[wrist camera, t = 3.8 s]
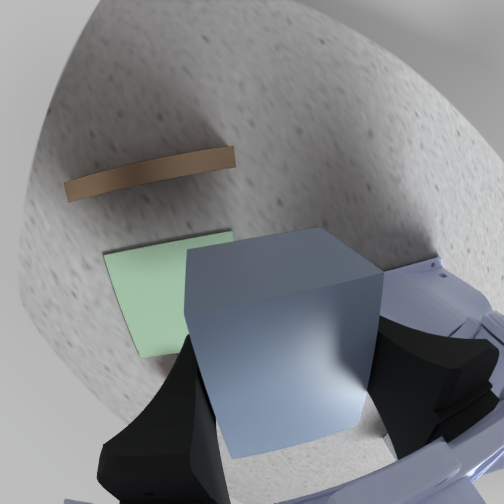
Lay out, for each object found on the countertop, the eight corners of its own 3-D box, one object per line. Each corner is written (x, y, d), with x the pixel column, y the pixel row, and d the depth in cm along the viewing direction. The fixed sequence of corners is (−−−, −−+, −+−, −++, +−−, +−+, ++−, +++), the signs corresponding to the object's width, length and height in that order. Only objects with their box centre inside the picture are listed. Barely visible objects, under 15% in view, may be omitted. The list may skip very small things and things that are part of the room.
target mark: (232, 230, 20) (232, 231, 19) (249, 338, 23) (249, 340, 23) (104, 254, 18) (103, 255, 18) (141, 356, 22) (140, 357, 22)
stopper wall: (228, 145, 18) (233, 145, 15) (230, 164, 18) (236, 167, 16) (79, 177, 16) (64, 182, 14) (82, 195, 17) (68, 202, 14)
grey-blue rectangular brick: (320, 226, 13) (384, 272, 8) (320, 360, 16) (358, 425, 11) (187, 249, 12) (183, 314, 7) (219, 383, 15) (231, 459, 10)
